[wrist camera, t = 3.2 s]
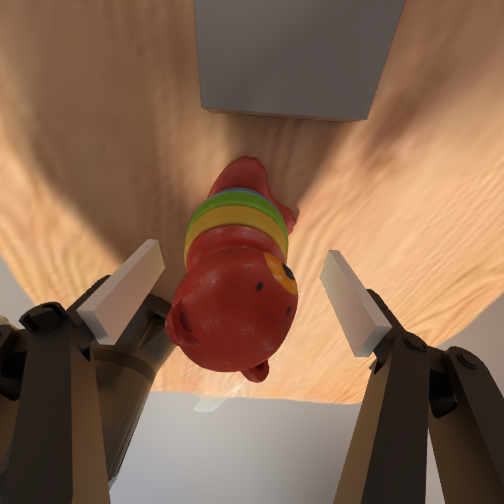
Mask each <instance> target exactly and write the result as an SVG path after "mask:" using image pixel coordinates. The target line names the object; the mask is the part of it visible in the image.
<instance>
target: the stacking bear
mask: <svg viewBox="0 0 504 504" xmlns="http://www.w3.org/2000/svg"><path fill="white" fill-rule="evenodd" d="M294 225H295V218H294V216H292V211H291V210H290V209H289V208H287V207H285V206H283V205H281V204H279V203H278V202H276V201H275V200H274V199H273V197H272V196H271V194H270V192H269V190H268V186H267V173H266V169H265V167H264V166H262V165H261V164H260V161H259V160H258V159H257V158H252V159H251V158H250V157H248V156H244V157H241V158H239V159H237V160H236V161H235V162H233V163H232V164H231V165H229V166H228V167H227V168H226V169H225V170H224V171H223V172H222V173H221V174H220V176H219V177H218V178H217V180H216V181H215V183H214V184H213V186H212V188H211V190H210V192H209V195H208V198H207V200H205V201H204V202H203V203H202V204H201V205H200V206H199V208H198V209H197V210H196V211H195V213H194V214H193V216H192V218H191V221H190V223H189V226H188V229H187V234H186V242H185V248H184V262H185V267H186V270H187V274H186V276H185V277H184V278H183V280H182V281H181V283H180V284H179V286H178V288H177V290H176V293H175V295H174V298H173V302H172V308H171V310H170V311H169V313H168V315H167V318H166V321H165V330H166V334H167V336H168V338H169V339H170V341H171V342H173V343H174V344H175V345H177V346H180V348H181V349H182V351H183V352H184V354H185V355H186V356H187V357H188V358H189V359H190V360H191V361H193V362H194V363H196V364H197V365H199V366H200V367H202V368H205V369H208V370H212V371H217V372H236V371H240V372H242V374H243V375H244V376H245V377H246V378H247V379H248V380H249V381H252V382H256V383H259V382H263V381H264V380H265V379H266V377H267V375H268V374H269V364H268V359H269V358H270V357H271V356H272V355H273V354H274V353H275V352H276V351H277V350H278V349H279V347H280V346H281V344H282V343H283V341H284V340H285V338H286V336H287V334H288V332H289V329H290V327H291V325H292V322H293V320H294V317H295V313H296V310H297V304H298V291H297V283H296V280H295V278H294V276H293V273H292V271H291V270H290V269H289V268H288V267H287V266H286V263H287V253H288V235H290V233H292V231H293V227H294Z"/></svg>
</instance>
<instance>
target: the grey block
mask: <svg viewBox="0 0 504 504" xmlns="http://www.w3.org/2000/svg"><path fill="white" fill-rule="evenodd" d="M404 3H405V0H194V8H195V22H196V36H197V50H198V65H199V79H200V93H201V107H202V108H204V109H206V110H208V111H210V112H215V113H228V114H241V115H255V116H268V117H282V118H295V119H308V120H322V121H335V122H352V121H360V120H367V117H368V114H369V111H370V108H371V105H372V102H373V99H374V96H375V92H376V89H377V86H378V83H379V80H380V77H381V74H382V71H383V68H384V65H385V62H386V59H387V55H388V52H389V49H390V46H391V43H392V40H393V37H394V34H395V31H396V28H397V25H398V22H399V18H400V15H401V12H402V9H403V6H404Z"/></svg>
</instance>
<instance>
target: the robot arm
mask: <svg viewBox="0 0 504 504" xmlns="http://www.w3.org/2000/svg"><path fill="white" fill-rule="evenodd" d="M164 269H165V266H164V262H163V258H162V254H161V250H160V246H159V242H158V240H153V239H147V240H146V241H145V242H144V243H143V244H142V245H141V246H140V247H139V248H138V249H137V250H136V251H135V252H134V253H133V254H132V255H131V256H130V257H129V258H128V259H127V260H126V261H125V262H124V263H123V264H122V265H121V266H120V267H119V268H118V269H117V270H116V271H115V272H114V273H113V274H112V275H106V276H105V277H103V278H101V279H99V280H98V281H97V282H96V283H95V284H94V285H92V286H91V288H89V289H88V290H87V291H86V293H84V294H83V295H82V296H81V297H80V298H79V299H78V300H77V301H75V302H74V303H73V304H72V305H71V306H70V307H69V308H68V309H67V310H66V311H65V309H64V308H63V307H62V305H61V304H60V303H58V302H48V303H44V304H41V305H38V306H36V307H34V308H32V309H30V310H29V311H27V312H26V313H25V314H24V315H22V316H21V318H20V320H19V322H20V323H21V324H22V325H23V326H24V327H25V328H26V329H18V328H16V327H14V326H13V325H11V324H9V321H8V319H7V318H6V317H4V316H1V315H0V504H111V503H110V496H109V491H110V489H111V487H112V484H113V483H114V482H115V481H116V479H117V476H118V473H119V470H120V467H121V465H122V462H123V460H124V457H125V454H126V452H127V449H128V446H129V444H130V441H131V439H132V436H133V433H134V430H135V428H136V426H137V423H138V420H139V418H140V415H141V413H142V410H143V407H144V405H145V402H146V399H147V397H148V394H149V392H150V389H151V386H152V384H153V381H154V379H155V376H156V374H157V372H158V371H159V369H160V368H161V366H162V365H163V364H164V362H165V361H166V360H167V358H168V357H169V356H170V354H171V353H172V352H173V350H174V349H175V348H176V346H177V345H175V344H174V343H173V342H171V341H170V339H169V338H168V336H167V334H166V330H165V321H166V318H167V315H168V313H169V311H170V310H171V308H172V306H171V305H170V304H168V303H167V302H165V301H163V300H161V299H159V298H157V297H154V296H151V295H148V293H149V292H150V290H151V289H152V287H153V286H154V284H155V283H156V281H157V280H158V278H159V277H160V275H161V274H162V272H163V271H164ZM320 279H321V281H322V284H323V286H324V288H325V290H326V293H327V295H328V297H329V299H330V302H331V304H332V306H333V308H334V311H335V313H336V315H337V318H338V320H339V322H340V324H341V327H342V329H343V331H344V333H345V336H346V338H347V340H348V342H349V345H350V347H351V349H352V351H353V354H354V356H355V357H369V356H370V355H371V353H372V352H374V354H375V355H376V357H377V358H376V360H375V361H374V362H373V363H372V364H371V366H370V367H369V369H370V370H371V369H372V371H371V375H370V378H369V381H368V385H367V388H366V392H365V395H364V399H363V402H362V405H361V409H360V412H359V416H358V419H357V423H356V426H355V430H354V433H353V437H352V440H351V443H350V447H349V450H348V454H347V457H346V461H345V464H344V467H343V471H342V474H341V478H340V481H339V485H338V488H337V492H336V495H335V499H334V502H333V504H425V495H426V465H427V435H428V434H427V433H428V429H429V433H430V437H431V442H432V447H433V451H434V455H435V460H436V464H437V469H438V473H439V478H440V482H441V487H442V491H443V495H444V500H445V504H504V398H503V396H502V394H501V392H500V391H499V389H498V387H497V385H496V383H495V381H494V379H493V378H492V376H491V374H490V372H489V370H488V368H487V367H486V366H485V364H484V363H483V362H482V361H481V360H480V359H479V358H478V357H477V356H475V355H474V354H472V353H471V352H469V351H467V350H465V349H463V348H460V347H456V346H453V347H450V348H449V349H448V350H446V351H443V350H440V349H437V348H434V347H431V346H428V345H427V344H426V343H425V342H424V341H423V340H422V339H421V338H420V337H418V336H416V335H415V334H413V333H410V332H408V331H406V330H405V329H404V328H403V327H402V325H401V324H400V323H399V321H398V320H397V319H396V317H395V316H394V315H393V313H392V312H391V311H390V309H388V307H387V305H386V304H384V301H383V300H382V299H381V297H380V296H379V295H378V294H377V293H375V292H374V291H373V290H372V289H365V287H364V286H363V284H362V283H361V282H360V280H359V279H358V277H357V276H356V274H355V273H354V272H353V270H352V269H351V267H350V266H349V264H348V263H347V262H346V260H345V259H344V257H343V256H342V254H341V253H340V252H339V251H337V250H329V251H328V254H327V257H326V260H325V263H324V266H323V269H322V272H321V275H320Z"/></svg>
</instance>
